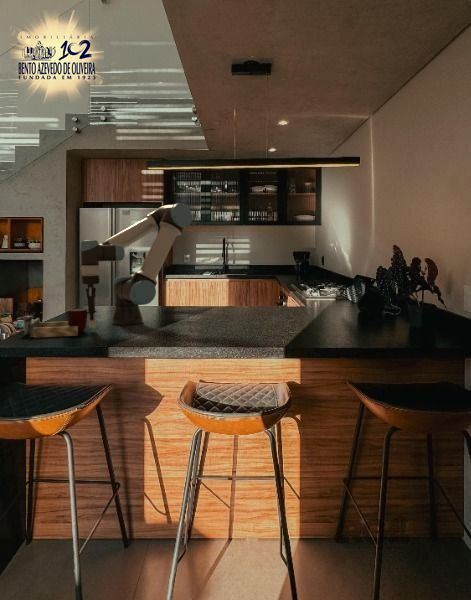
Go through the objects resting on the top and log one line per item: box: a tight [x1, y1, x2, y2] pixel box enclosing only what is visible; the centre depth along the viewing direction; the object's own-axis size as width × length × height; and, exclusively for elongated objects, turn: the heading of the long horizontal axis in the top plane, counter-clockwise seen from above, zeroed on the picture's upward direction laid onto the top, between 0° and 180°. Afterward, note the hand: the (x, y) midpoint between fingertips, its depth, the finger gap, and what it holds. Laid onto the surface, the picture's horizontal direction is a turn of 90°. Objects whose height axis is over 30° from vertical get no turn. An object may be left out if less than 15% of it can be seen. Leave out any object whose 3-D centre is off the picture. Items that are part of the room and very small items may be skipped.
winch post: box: [21, 315, 34, 336], centre depth 216 cm, size 4×4×8 cm
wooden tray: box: [29, 317, 79, 338], centre depth 219 cm, size 19×16×6 cm
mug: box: [67, 308, 88, 334], centre depth 220 cm, size 10×8×10 cm
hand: (92, 327), depth 222 cm, fingers closed
